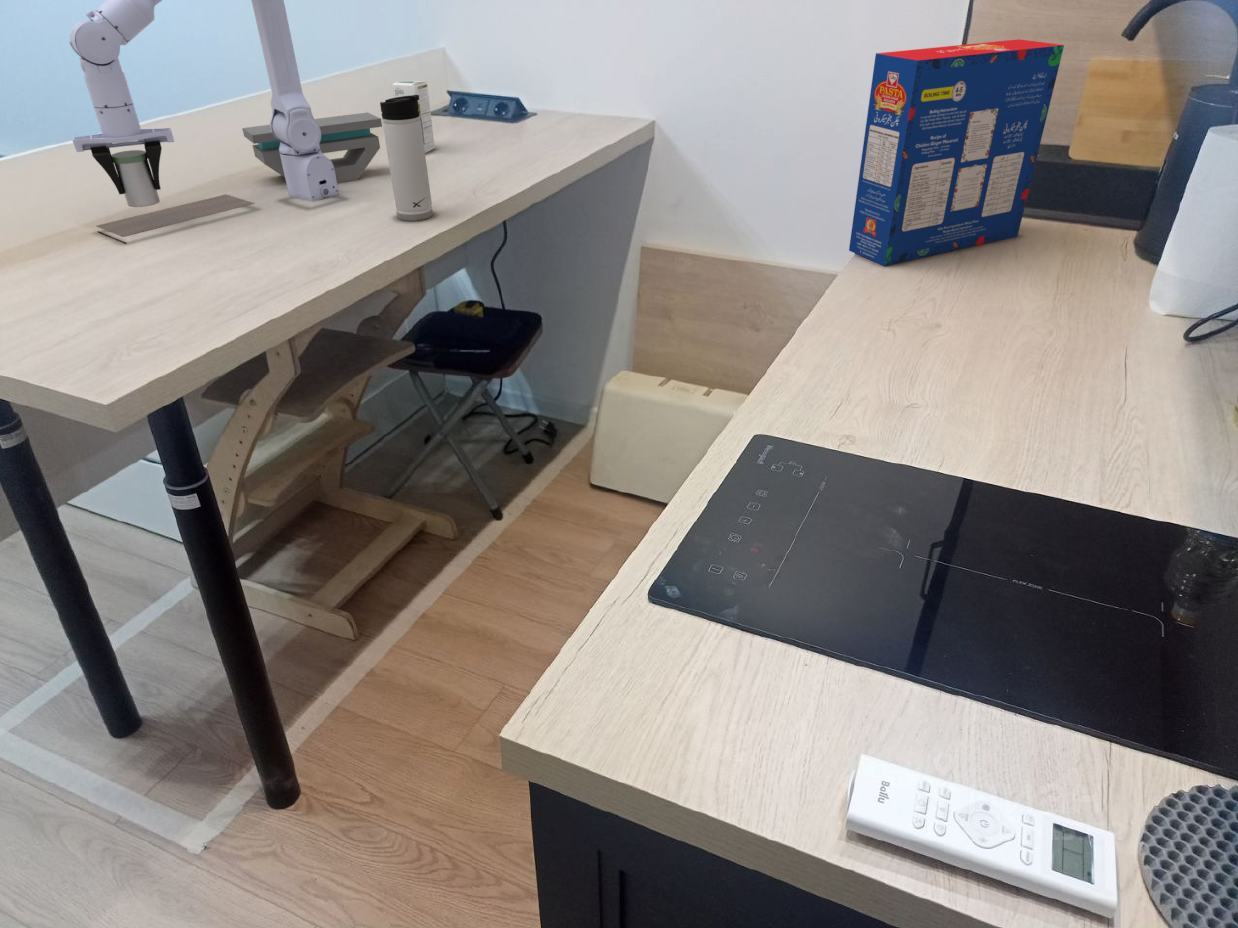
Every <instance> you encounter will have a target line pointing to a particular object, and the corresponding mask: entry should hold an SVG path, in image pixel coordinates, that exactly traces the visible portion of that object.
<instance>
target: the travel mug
mask: <svg viewBox="0 0 1238 928" xmlns="http://www.w3.org/2000/svg"><path fill="white" fill-rule="evenodd" d="M418 100H419V95H411V96H402V97H396V98H394V97H392V98H388V99H385V100H384V101H380V102H379V107H380V112H381V122H382V128H383V134H384V140H385V141H384V142H385V146H386V147H385V149H386V153H387V159H388V165H389V166H388V167H389V173H390V177H391V178H390V179H391V185H392V192H393V198H394V205H395V210H396V218H397V219H399V220H401V221H406V222H417V221H418V222H419V221H424V220H427V219H430V218H431V217H432V216H433V215H434V211H433V201H432V194H431V187H430V180H429V172H428V166H427V165H428V164H427V157H426V153H425V149H424V142H423V134H422V127H421V121H420V115H419V111H418V109H419V107H418Z"/></svg>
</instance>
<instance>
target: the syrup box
mask: <svg viewBox="0 0 1238 928" xmlns="http://www.w3.org/2000/svg"><path fill="white" fill-rule="evenodd" d="M428 89H429V87H428V82H427V81H426V80H423V81H422V80H421V81H420V80H398V81H396V82H394V83H392V90H393V92H392V93H393V98H396V97H402V96H411V95H419V100H418V107H419V109H418V111H419V115H420V121H421V127H422V134H423V142H424V149H425V154H426V153H429V152H430V151H431V152H432V150H434V149H436V145H435V138H434V130H433V120H432V113H431V112H432V111H431V106H430V105H431V104H430V96H429V90H428Z"/></svg>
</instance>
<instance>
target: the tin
mask: <svg viewBox="0 0 1238 928" xmlns="http://www.w3.org/2000/svg"><path fill="white" fill-rule="evenodd" d="M111 158H112V161H113V163H114V166H115V169H116V172H117V174H118V177H119V179H120V183H121V186H122V188H123V192H124V194H123V195H124V198H125V201H126V203H127V206H128V207H131V208H145V207H149V206H155V205H156V204H159V203H160V202H161V199H160V195H159V193H158V190H156V187H155V184H154V179H153V174H152V170H151V167H150V163H149V160H148V157H147V154H146V151H145V150H140V149H132V150H122V151H118V152H114V153H111Z"/></svg>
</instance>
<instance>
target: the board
mask: <svg viewBox="0 0 1238 928" xmlns="http://www.w3.org/2000/svg"><path fill="white" fill-rule="evenodd" d="M251 205H255V202H252V201H250V200H249V201H248V200H247V199H243V198H239V197H237V196H233V195H229V194H226V193H225V194H221V195H218V196H214V197H208V198H205V199H200V200H196V201H192V202H188V203H184V204H180V205H176V206H172V207H168V208H167V207H166V208H163V209H159V210H156V211H151V212H147V213H142V214H139V215H135V216H131V217H126V218H122V219H118V220H114V221H110V222H105V223H101V224H97V225H96V227H97V228H99V229H102V230H104V231H107V232H109V233H111V234H114V235H116V236H119V237H121V238H125V237H129V236H134V235H138V234H140V233H145V232H148V231H154V230H157V229H161V228H164V227H168V226H172V225H177V224H181V223H184V222H188V221H192V220H197V219H199V218H203V217H207V216H212V215H216V214H219V213H223V212H227V211H231V210H236V209H238V208H243V207H247V206H251ZM97 234H101V235H103V236H105V237H107V238H110V239H112V240H115V241H117V242H119V243H122V244H124V245H125V244H126V245H127V244H128V242H125V241H123V240H122V239H121V240H120V239H118V238H116V237H114V236H111V235H109V234H107V233H104V232H101V231H100V230H97Z"/></svg>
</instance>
